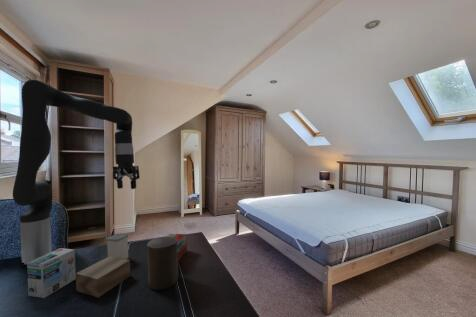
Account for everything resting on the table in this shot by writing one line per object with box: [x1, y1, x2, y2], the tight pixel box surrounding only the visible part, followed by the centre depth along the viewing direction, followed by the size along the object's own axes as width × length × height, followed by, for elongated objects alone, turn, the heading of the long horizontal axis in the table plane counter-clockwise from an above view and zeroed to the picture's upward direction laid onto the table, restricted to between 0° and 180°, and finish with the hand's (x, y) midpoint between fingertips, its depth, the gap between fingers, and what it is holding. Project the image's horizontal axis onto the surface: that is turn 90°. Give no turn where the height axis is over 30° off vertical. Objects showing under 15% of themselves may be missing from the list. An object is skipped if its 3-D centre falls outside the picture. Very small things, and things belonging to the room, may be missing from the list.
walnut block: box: [75, 256, 131, 298], centre depth 72 cm, size 10×12×6 cm
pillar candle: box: [146, 236, 179, 291], centre depth 72 cm, size 10×10×15 cm
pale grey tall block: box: [106, 233, 129, 260], centre depth 87 cm, size 5×5×10 cm
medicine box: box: [165, 233, 188, 262], centre depth 88 cm, size 15×8×8 cm, turn 173°
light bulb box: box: [26, 247, 77, 299], centre depth 70 cm, size 11×7×11 cm, turn 168°
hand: (126, 188), depth 97 cm, fingers open, 8 cm apart
